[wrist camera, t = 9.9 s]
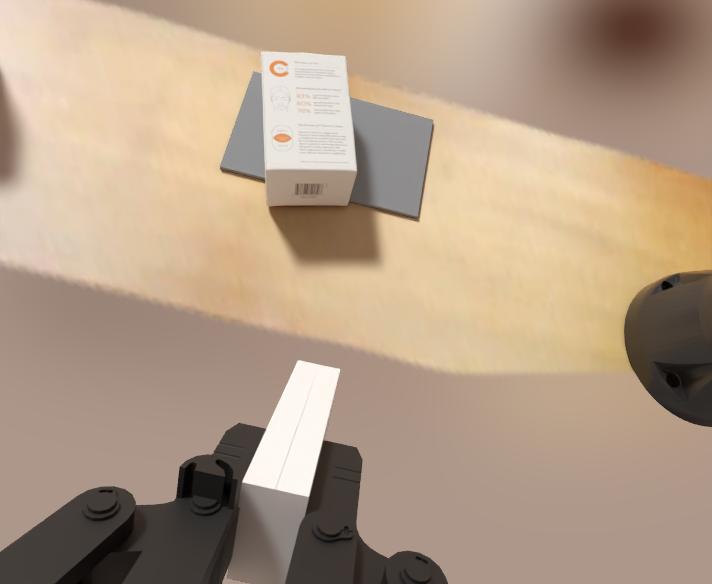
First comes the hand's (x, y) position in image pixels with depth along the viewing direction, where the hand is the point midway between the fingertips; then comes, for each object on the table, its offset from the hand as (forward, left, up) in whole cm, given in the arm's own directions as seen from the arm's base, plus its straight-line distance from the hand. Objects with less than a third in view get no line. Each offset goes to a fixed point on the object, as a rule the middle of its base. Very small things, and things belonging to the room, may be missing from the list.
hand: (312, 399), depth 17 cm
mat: (+2, -30, -25) cm, 39 cm away
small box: (+3, -21, -21) cm, 30 cm away
